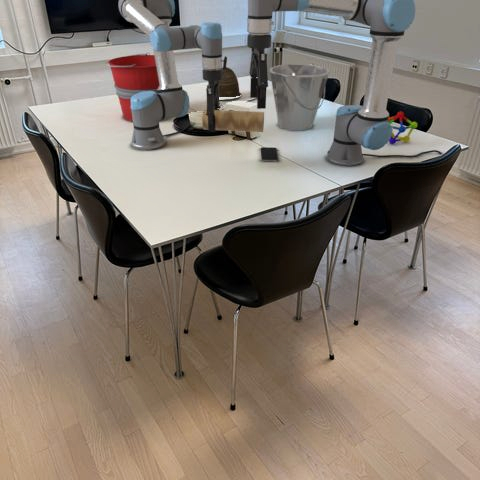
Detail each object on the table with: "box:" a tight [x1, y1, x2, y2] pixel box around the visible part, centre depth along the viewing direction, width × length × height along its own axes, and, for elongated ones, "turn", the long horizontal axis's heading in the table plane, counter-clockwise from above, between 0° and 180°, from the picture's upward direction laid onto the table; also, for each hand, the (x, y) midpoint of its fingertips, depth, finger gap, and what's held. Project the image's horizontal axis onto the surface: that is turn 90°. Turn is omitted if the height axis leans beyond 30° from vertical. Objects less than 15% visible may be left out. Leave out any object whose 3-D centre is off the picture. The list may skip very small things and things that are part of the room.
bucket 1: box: [105, 52, 162, 123], centre depth 239 cm, size 35×35×30 cm
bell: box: [219, 56, 242, 97], centre depth 278 cm, size 19×26×20 cm
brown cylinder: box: [201, 109, 265, 133], centre depth 176 cm, size 24×8×8 cm, turn 83°
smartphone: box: [260, 146, 279, 162], centre depth 196 cm, size 7×1×15 cm
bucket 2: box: [269, 63, 330, 131], centre depth 226 cm, size 30×30×28 cm
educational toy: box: [388, 110, 418, 145], centre depth 207 cm, size 16×13×15 cm
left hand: (213, 128), depth 178 cm, fingers closed on brown cylinder, 8 cm apart
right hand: (257, 102), depth 149 cm, fingers open, 13 cm apart
